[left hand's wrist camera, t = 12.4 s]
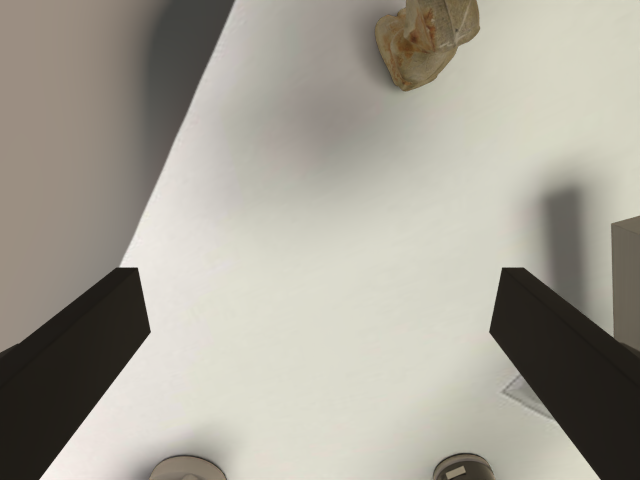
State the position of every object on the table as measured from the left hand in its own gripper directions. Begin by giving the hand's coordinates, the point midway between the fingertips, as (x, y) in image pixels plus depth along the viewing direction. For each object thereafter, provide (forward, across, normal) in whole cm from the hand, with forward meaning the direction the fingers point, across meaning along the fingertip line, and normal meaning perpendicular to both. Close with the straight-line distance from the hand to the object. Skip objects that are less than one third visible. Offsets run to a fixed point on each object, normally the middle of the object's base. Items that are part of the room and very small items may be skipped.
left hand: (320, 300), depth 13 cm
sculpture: (+29, +8, +12) cm, 33 cm away
